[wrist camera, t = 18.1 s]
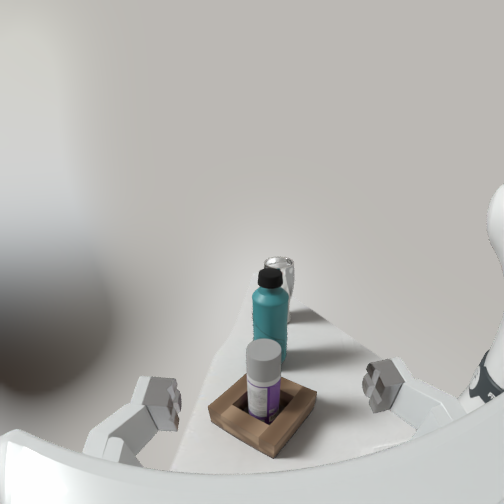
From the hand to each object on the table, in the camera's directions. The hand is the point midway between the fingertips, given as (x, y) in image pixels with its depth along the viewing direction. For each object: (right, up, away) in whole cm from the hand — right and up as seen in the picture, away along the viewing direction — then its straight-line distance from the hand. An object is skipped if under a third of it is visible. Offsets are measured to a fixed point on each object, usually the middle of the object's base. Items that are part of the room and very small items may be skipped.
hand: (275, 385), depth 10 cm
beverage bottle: (+3, -17, +41) cm, 45 cm away
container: (+1, -21, +28) cm, 35 cm away
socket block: (+1, -21, +28) cm, 36 cm away
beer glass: (+5, -11, +56) cm, 57 cm away
